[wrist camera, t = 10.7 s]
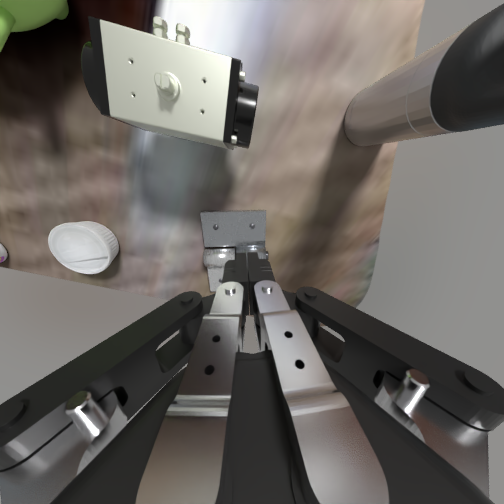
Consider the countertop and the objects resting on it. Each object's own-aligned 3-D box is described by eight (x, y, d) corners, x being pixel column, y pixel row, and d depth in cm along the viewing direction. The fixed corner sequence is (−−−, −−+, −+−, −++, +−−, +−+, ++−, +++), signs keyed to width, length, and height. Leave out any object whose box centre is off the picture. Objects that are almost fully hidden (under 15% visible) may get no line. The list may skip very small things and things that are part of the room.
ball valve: (254, 101, 32) (268, 36, 16) (245, 155, 35) (250, 146, 19) (145, 72, 30) (34, -37, 14) (148, 133, 33) (62, 103, 17)
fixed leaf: (267, 209, 40) (270, 214, 37) (266, 258, 46) (268, 266, 42) (201, 211, 40) (197, 215, 36) (207, 261, 45) (204, 269, 41)
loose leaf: (264, 244, 44) (266, 251, 40) (263, 286, 49) (265, 296, 45) (205, 246, 43) (202, 253, 39) (211, 288, 48) (208, 298, 45)
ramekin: (106, 271, 45) (90, 283, 40) (60, 239, 41) (36, 249, 36) (134, 243, 42) (121, 252, 37) (87, 206, 38) (65, 211, 33)
